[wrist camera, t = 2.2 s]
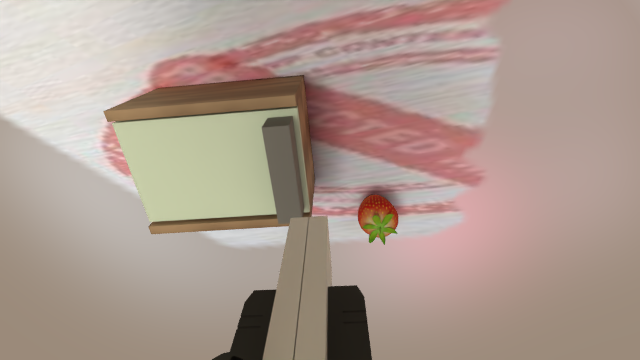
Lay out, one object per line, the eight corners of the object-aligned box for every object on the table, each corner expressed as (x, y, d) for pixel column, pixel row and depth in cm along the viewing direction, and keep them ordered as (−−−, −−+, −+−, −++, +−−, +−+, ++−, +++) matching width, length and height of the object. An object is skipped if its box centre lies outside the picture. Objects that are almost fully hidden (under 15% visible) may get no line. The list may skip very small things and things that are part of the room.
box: (158, 88, 40) (103, 111, 31) (303, 75, 39) (294, 95, 29) (189, 188, 47) (151, 234, 37) (314, 179, 45) (310, 224, 36)
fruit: (399, 198, 46) (412, 231, 39) (374, 222, 48) (382, 258, 41) (371, 177, 45) (379, 207, 38) (347, 202, 47) (350, 235, 40)
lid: (116, 120, 32) (91, 133, 29) (297, 105, 31) (293, 116, 28) (153, 218, 37) (135, 238, 34) (310, 208, 36) (308, 228, 33)
